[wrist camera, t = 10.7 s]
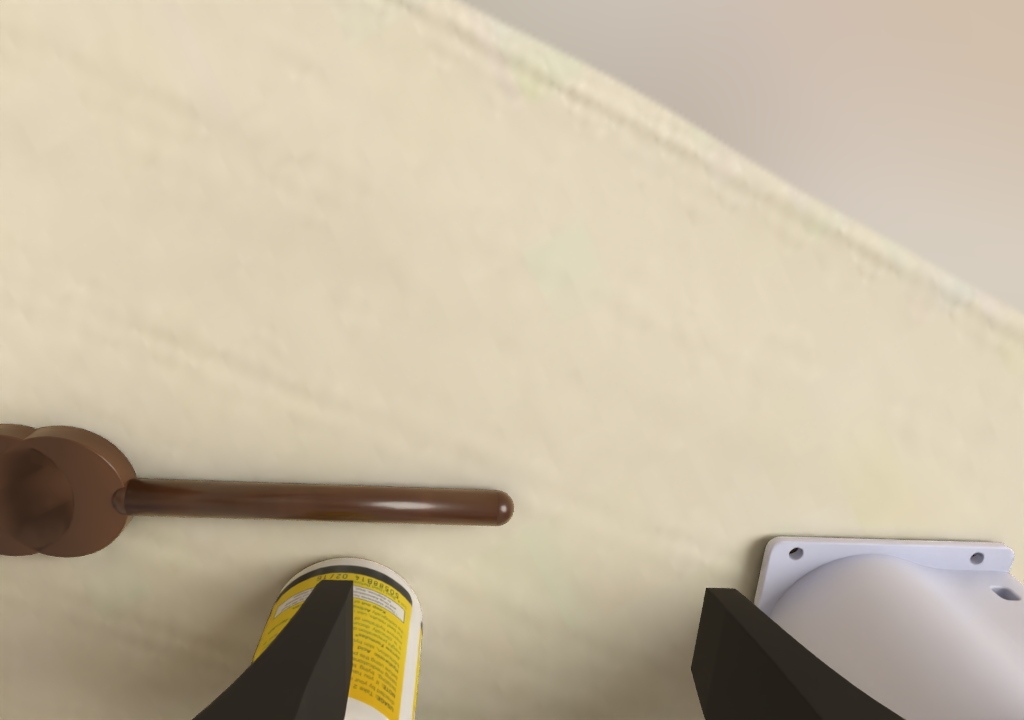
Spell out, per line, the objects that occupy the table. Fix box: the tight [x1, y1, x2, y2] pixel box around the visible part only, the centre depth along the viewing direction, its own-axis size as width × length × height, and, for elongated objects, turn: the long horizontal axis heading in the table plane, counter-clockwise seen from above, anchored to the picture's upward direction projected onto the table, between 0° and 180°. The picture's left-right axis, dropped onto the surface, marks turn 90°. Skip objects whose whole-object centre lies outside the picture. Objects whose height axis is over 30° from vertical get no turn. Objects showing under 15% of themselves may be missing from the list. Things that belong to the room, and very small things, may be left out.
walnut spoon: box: [0, 424, 514, 557], centre depth 24 cm, size 19×4×1 cm, turn 86°
